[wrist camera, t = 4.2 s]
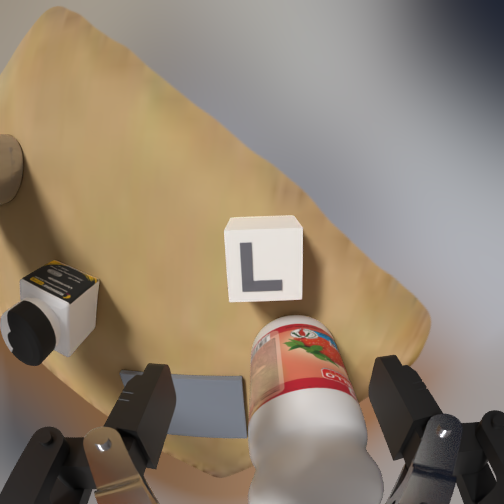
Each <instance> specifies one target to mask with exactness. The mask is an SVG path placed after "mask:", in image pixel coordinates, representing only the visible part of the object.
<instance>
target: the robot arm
mask: <svg viewBox="0 0 504 504" xmlns="http://www.w3.org/2000/svg"><path fill="white" fill-rule="evenodd" d="M22 173H23V157H22V151H21V148H20V145H19V143H18V142H17V140H16V139H15V138H14V137H13V136H11V135H4V134H0V205H1V204H5V203H8V202H9V201H11V200H12V199H13V198H14V197H15V195H16V193H17V191H18V189H19V186H20V183H21V179H22ZM369 398H370V402H371V404H372V406H373V409H374V412H375V414H376V417H377V419H378V422H379V424H380V427H381V429H382V432H383V434H384V437H385V440H386V442H387V445H388V447H389V450H390V453H391V455H392V458H393V460H398V459H401V458H404V460H405V465H404V467H403V468H402V471H401V473H400V475H399V477H398V479H397V482H396V484H395V486H394V488H393V490H392V492H391V494H390V496H389V498H388V500H387V502H386V503H385V504H449V503H450V501H451V497H452V494H453V491H454V487H455V484H456V483H457V486H458V488H459V491H460V494H461V497H462V500H463V502H464V504H504V413H503V412H501V411H495V410H494V411H489V412H487V413H486V414H485V415H484V416H483V418H482V420H481V421H480V422H474V423H461V422H460V421H459V419H457V418H456V417H455V416H453V415H450V414H443V413H442V411H441V409H440V408H439V406H438V405H437V403H436V401H435V400H434V398H433V396H432V395H431V394H430V392H429V390H428V389H426V385H425V384H424V382H422V379H421V378H420V376H419V375H418V373H417V372H416V371H415V370H413V369H412V368H411V367H409V366H408V365H404V366H402V364H401V362H400V361H399V359H398V358H397V356H396V355H390V356H383V357H377V358H376V359H375V363H374V367H373V372H372V376H371V380H370V384H369ZM175 407H176V392H175V388H174V384H173V380H172V376H171V372H170V368H169V366H168V365H166V364H152V363H149V364H148V365H147V367H146V368H145V370H144V372H143V374H142V375H135V376H134V377H133V378H132V379H130V380H129V381H128V382H127V384H126V386H125V387H124V389H123V393H121V395H120V396H119V400H117V402H116V404H115V406H114V408H113V409H112V411H111V413H110V415H109V417H108V419H107V421H106V423H105V425H104V426H103V427H98V428H95V429H93V430H91V431H90V432H88V433H87V434H86V436H85V437H82V438H69V437H68V438H67V437H66V438H65V437H64V436H63V435H62V433H61V432H60V431H59V430H58V429H56V428H54V427H44V428H41V429H39V430H37V431H36V432H35V433H34V434H33V436H32V438H31V439H30V441H29V443H28V444H27V446H26V448H25V449H24V451H23V453H22V455H21V456H20V458H19V460H18V462H17V463H16V466H15V467H14V469H13V471H12V472H11V474H10V476H9V478H8V480H7V482H6V484H5V486H4V488H3V490H2V492H1V494H0V504H87V503H88V500H89V497H90V495H91V492H92V489H97V491H95V492H94V493H95V498H96V501H97V503H98V504H160V503H159V502H158V500H157V498H156V497H155V495H154V493H153V491H152V490H151V488H150V486H149V484H148V482H147V481H146V479H145V477H144V472H145V469H146V468H152V469H156V468H157V464H158V461H159V458H160V454H161V451H162V448H163V445H164V442H165V439H166V435H167V432H168V429H169V426H170V423H171V420H172V416H173V413H174V410H175ZM488 461H489V463H490V465H491V467H492V469H493V471H494V473H495V475H496V479H497V482H496V480H495V478H494V476H493V474H492V471H491V469H490V467H489V465H488V463H487V462H488Z"/></svg>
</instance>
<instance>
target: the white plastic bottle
mask: <svg viewBox="0 0 504 504" xmlns="http://www.w3.org/2000/svg"><path fill="white" fill-rule="evenodd" d="M366 445H367V429H366V424H365V420H364V416H363V413H362V410H361V408H360V405H359V403H358V400H357V398H356V395H355V392H354V390H353V387H352V384H351V382H350V379H349V377H348V374H347V371H346V369H345V366H344V364H343V361H342V359H341V356H340V354H339V351H338V349H337V346H336V344H335V341H334V339H333V336H332V335H331V333H330V332H329V330H328V329H327V328H326V327H325V326H324V325H323V324H322V323H321V322H319V321H318V320H316V319H314V318H311V317H308V316H303V315H289V316H284V317H280V318H278V319H275V320H273V321H272V322H270V323H268V324H267V325H266V326H264V327H263V328H262V329H261V330H260V332H259V333H258V335H257V336H256V338H255V340H254V342H253V346H252V350H251V370H250V399H249V425H248V446H249V454H250V458H251V461H252V463H253V465H254V467H255V469H256V471H255V474H254V477H253V480H252V482H251V485H250V488H249V493H248V504H380V503H381V500H382V497H383V492H384V485H383V480H382V475H381V471H380V469H379V468H378V465H377V464H376V462H375V461H374V460H373V459H372V457H371V456H370V455H369V453H368V452H367V450H366Z"/></svg>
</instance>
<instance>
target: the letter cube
mask: <svg viewBox="0 0 504 504" xmlns="http://www.w3.org/2000/svg"><path fill="white" fill-rule="evenodd" d="M224 237H225V252H226V266H227V280H228V293H229V302H253V301H280V300H302V274H303V227H302V226H301V225H300V223H299V222H298V221H297V219H296V218H295V217H294V215H287V216H256V217H232V218H230V220H229V222H228V224H227V226H226V228H225V230H224Z"/></svg>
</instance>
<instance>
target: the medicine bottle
mask: <svg viewBox="0 0 504 504" xmlns="http://www.w3.org/2000/svg"><path fill="white" fill-rule="evenodd" d="M98 290H99V279H98V278H96V277H93V276H91V275H88V274H86V273H84V272H81V271H79V270H77V269H74V268H72V267H70V266H68V265H65V264H63V263H61V262H59V261H56V260H53V261H51V262H50V263H48V264H46V265H44V266H43V267H41V268H39V269H37V270H36V271H34V272H32V273H31V274H29V275H27V276H25V277H24V278H22V279H21V280H20V299H21V301H20V302H18V303H17V304H15V305H14V306H13V307H11V308H10V309H8V310H7V311H6V312H4V313H3V315H2V317H1V322H0V328H1V333H2V336H3V339H4V341H5V343H6V345H7V346H8V348H9V349H10V351H11V352H12V353H13V354H14V355H15V356H16V357H17V358H18V359H19V360H20V361H22V362H23V363H25V364H27V365H31V366H37V365H40V364H41V363H42V362H43V361H44V360H45V359H46V357H47V356H48V355H49V354H50V353H51V352H52V351H53V350H55V351H57V352H59V353H61V354H63V355H65V356H66V357H70V356H71V355H72V354H73V352H74V351H75V350H76V349H77V348H78V347H79V345H80V344H81V343H82V342H83V341H84V340H85V338H86V337H87V336H88V335H89V334H90V333H91V332H92V331H93V329H94V328H95V325H96V311H97V300H98Z"/></svg>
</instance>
